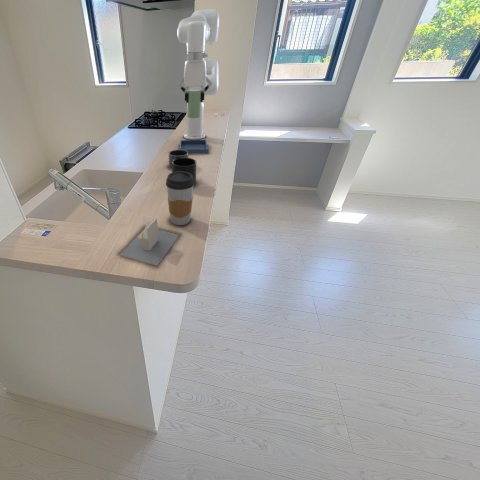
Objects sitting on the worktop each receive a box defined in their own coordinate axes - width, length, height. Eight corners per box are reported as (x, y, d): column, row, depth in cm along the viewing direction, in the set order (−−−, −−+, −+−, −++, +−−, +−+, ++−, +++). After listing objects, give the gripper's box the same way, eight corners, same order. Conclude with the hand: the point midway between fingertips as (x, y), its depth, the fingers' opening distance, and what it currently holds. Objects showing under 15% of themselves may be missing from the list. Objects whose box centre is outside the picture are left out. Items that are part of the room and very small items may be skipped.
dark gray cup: (169, 163, 126) (169, 149, 123) (188, 163, 126) (188, 149, 122) (168, 170, 119) (168, 156, 116) (188, 170, 119) (188, 156, 115)
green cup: (187, 115, 135) (187, 89, 128) (200, 115, 134) (201, 88, 127) (187, 118, 130) (187, 91, 123) (200, 117, 129) (201, 90, 122)
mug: (198, 177, 112) (199, 155, 107) (193, 189, 103) (194, 167, 98) (176, 175, 114) (176, 154, 109) (169, 187, 105) (169, 165, 100)
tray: (180, 144, 149) (180, 140, 148) (205, 144, 148) (206, 139, 146) (179, 154, 136) (179, 149, 135) (207, 154, 135) (207, 149, 133)
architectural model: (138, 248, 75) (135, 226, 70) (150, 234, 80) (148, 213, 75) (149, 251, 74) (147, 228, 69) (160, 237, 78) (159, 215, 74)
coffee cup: (193, 213, 88) (194, 170, 80) (193, 227, 82) (194, 182, 73) (168, 213, 89) (166, 170, 80) (166, 227, 83) (164, 182, 74)
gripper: (214, 55, 120) (212, 100, 130) (176, 57, 121) (176, 101, 132) (216, 56, 114) (213, 103, 124) (175, 58, 115) (176, 104, 126)
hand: (194, 101), depth 128 cm, fingers closed on green cup, 6 cm apart
